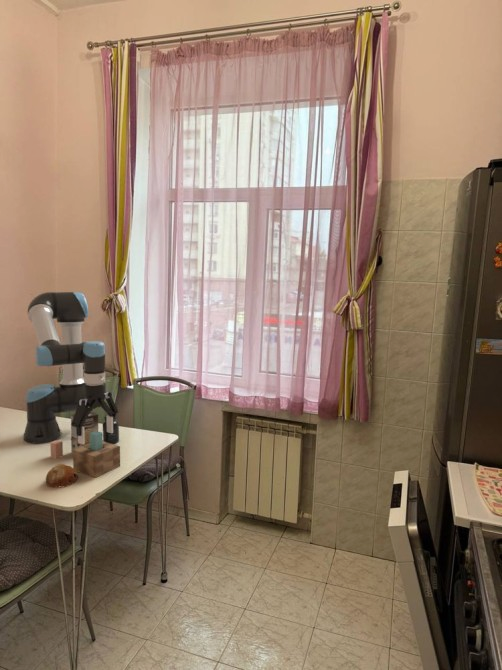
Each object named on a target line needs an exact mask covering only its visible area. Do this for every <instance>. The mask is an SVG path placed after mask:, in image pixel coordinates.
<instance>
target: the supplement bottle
mask: <svg viewBox="0 0 502 670" xmlns="http://www.w3.org/2000/svg"><path fill="white" fill-rule="evenodd" d="M106 416H109V415H108V414H107V413H106V414H105V415H104V421H103V423H102V441H104V442H107V443H111V444H114V445H116V444H117V443H118V442H120V424H119V421H118V420H117V415H116V416H115V417H114V424H113V433H109V432H107V417H106Z"/></svg>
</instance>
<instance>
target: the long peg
mask: <svg viewBox="0 0 502 670" xmlns="http://www.w3.org/2000/svg"><path fill="white" fill-rule="evenodd" d="M102 441H103V431H102V432H101V431H99V430H98V431H95V432H92V433H90V449H91V450H94V451H98V450H100V449H103V446H102Z"/></svg>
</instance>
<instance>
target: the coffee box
mask: <svg viewBox="0 0 502 670" xmlns="http://www.w3.org/2000/svg"><path fill="white" fill-rule="evenodd" d="M74 415H75V413H74V414H71V415H70V424H71V423H72V420H73V418H74ZM83 427H84V430H85V444H80V443H78V436H77V434H76V427H73V426H71V425H70V432H71V433H70V443H71V444H70V446H71V450H70V451H71V453H72V454H73V449H76V448H78V447H81V446H84V445H86V444H89V443H90V433H92V432H95V431H98V432H99V414H98V413H96V412H93V410H92V411H91V412H90V414H89V415H88V417H87V419H86V421H85V423H84V424H83Z"/></svg>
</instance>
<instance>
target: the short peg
mask: <svg viewBox="0 0 502 670" xmlns="http://www.w3.org/2000/svg"><path fill="white" fill-rule="evenodd" d="M49 444H50V458H53V459H55V460H56V459H60V458H62V457H63V456H64V447H63V445H64V444H63V441H62V440H58V439H56V440H54V441H50V442H49Z"/></svg>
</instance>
